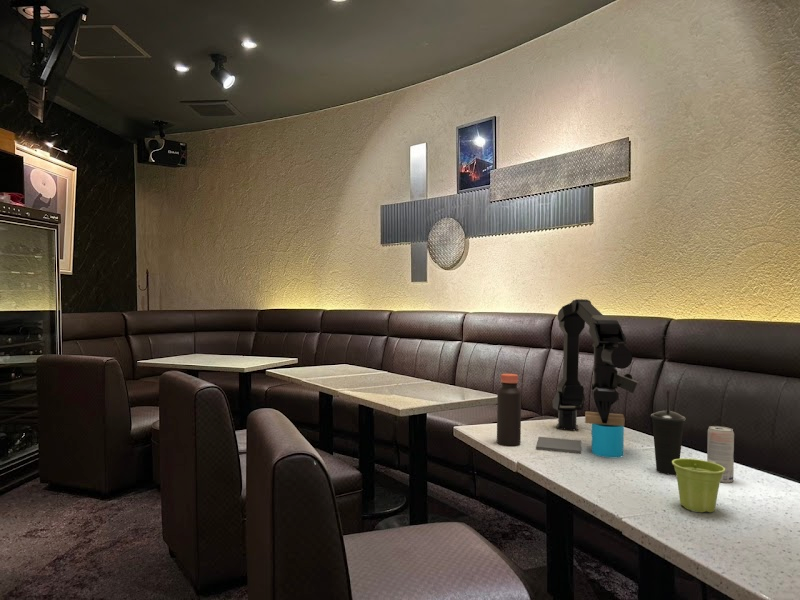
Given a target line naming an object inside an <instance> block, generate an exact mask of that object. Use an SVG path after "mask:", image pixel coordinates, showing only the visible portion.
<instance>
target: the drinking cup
mask: <svg viewBox="0 0 800 600" xmlns="http://www.w3.org/2000/svg"><path fill="white" fill-rule="evenodd" d="M670 392H671V391H670V390H669V389H666V410H660V411H656V412H653V413H651V414H650V417H651V420H652V433H653V434H652V435H653V444H654V455H655V457H654V458H655V468H656V469H655V470H656V472H657V473H659V474H660V473H661V474H664V475H671V476H672V475H674V476H675V475H676V472H675V468H674V465H673V464H672V461H673V460H675V459H681V453H682V451H681V450H682V444H683V443H682V442H683V433H684V426H685V421H686V417H685V416H684V415H681V414H680V413H678V412H675V411H672V410H671V409H670V407H671V406H670V403H671V400H670V397H671V394H670Z"/></svg>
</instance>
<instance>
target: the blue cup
mask: <svg viewBox="0 0 800 600" xmlns="http://www.w3.org/2000/svg"><path fill="white" fill-rule="evenodd" d="M624 427H625V425H624V426H614V425H602V424H591V433H590V434H591V453H592V454H593V453H594V454H593V455H595V454H596V456H598V455H599V456H598V457H602V456H604V457H603V458H610V457H617V458H622V457H623V456H624V442H625V440H624V438H625V437H624V436H625V434H624V433H625V432H624V431H625V429H624ZM621 456H622V457H621Z"/></svg>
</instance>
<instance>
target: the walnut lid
mask: <svg viewBox="0 0 800 600" xmlns="http://www.w3.org/2000/svg"><path fill="white" fill-rule="evenodd" d="M584 412H585V414H584V415H585V418H584V420H585V421H584V423H585V424H591V425H592V424H602V425H614V426H624V427H625V423H626V422H625V416H624V414H622V413H610V412H609V416H608V420H607V423H602V420H601V417H600V415H599V412H598V411H596V412H595V411H584Z"/></svg>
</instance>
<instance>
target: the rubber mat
mask: <svg viewBox="0 0 800 600" xmlns="http://www.w3.org/2000/svg"><path fill="white" fill-rule="evenodd" d="M537 438H538V439H537V441H536V444H535V450H536V449H537V450H538V451H539V450H540V451H546V450H548V452H560V453H567V452H569V454H578V453H579V454H581V455H582V440H578V439H567V438H558V437H557V438H555V437H545V436H538V437H537Z"/></svg>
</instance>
